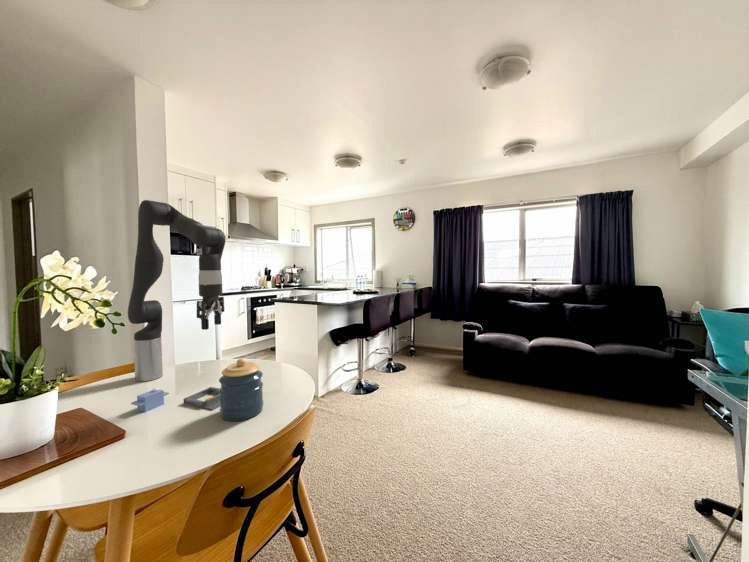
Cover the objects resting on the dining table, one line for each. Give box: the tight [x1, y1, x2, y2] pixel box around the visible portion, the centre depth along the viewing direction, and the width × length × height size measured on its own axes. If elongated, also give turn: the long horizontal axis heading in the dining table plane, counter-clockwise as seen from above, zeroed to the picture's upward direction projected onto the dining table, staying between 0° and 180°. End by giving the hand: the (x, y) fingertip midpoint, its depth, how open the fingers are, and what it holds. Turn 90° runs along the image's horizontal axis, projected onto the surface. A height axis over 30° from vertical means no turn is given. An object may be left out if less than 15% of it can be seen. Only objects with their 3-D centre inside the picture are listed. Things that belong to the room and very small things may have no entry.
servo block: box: [130, 387, 170, 413], centre depth 102 cm, size 4×10×6 cm, turn 159°
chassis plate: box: [183, 386, 221, 411], centre depth 107 cm, size 14×11×2 cm
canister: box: [218, 358, 264, 422], centre depth 98 cm, size 13×13×18 cm
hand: (211, 326), depth 110 cm, fingers open, 8 cm apart
